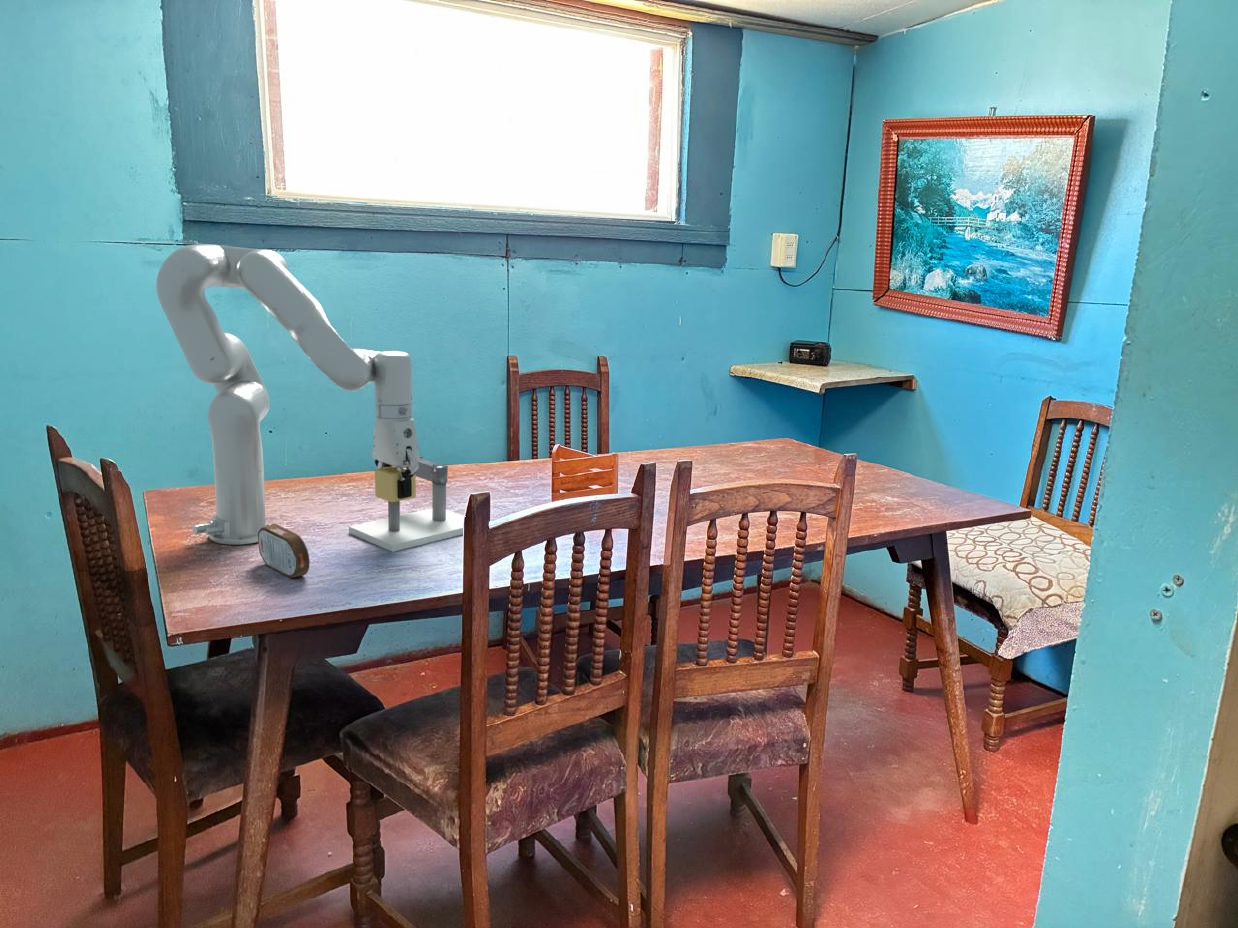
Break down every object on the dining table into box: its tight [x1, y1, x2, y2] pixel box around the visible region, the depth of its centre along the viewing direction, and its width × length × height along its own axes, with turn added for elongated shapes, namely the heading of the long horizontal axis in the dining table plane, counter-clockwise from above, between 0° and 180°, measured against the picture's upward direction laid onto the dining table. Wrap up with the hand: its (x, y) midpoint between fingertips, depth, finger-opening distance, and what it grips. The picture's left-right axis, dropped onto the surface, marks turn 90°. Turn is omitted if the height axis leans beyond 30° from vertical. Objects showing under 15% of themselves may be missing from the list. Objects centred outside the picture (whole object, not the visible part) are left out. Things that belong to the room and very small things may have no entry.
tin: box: [257, 523, 311, 579], centre depth 178 cm, size 15×3×8 cm, turn 48°
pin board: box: [348, 482, 464, 553], centre depth 205 cm, size 24×16×10 cm, turn 138°
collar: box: [374, 466, 417, 502], centre depth 199 cm, size 6×6×6 cm
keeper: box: [403, 454, 449, 484], centre depth 212 cm, size 16×5×4 cm, turn 48°
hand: (395, 493), depth 200 cm, fingers closed on collar, 6 cm apart
